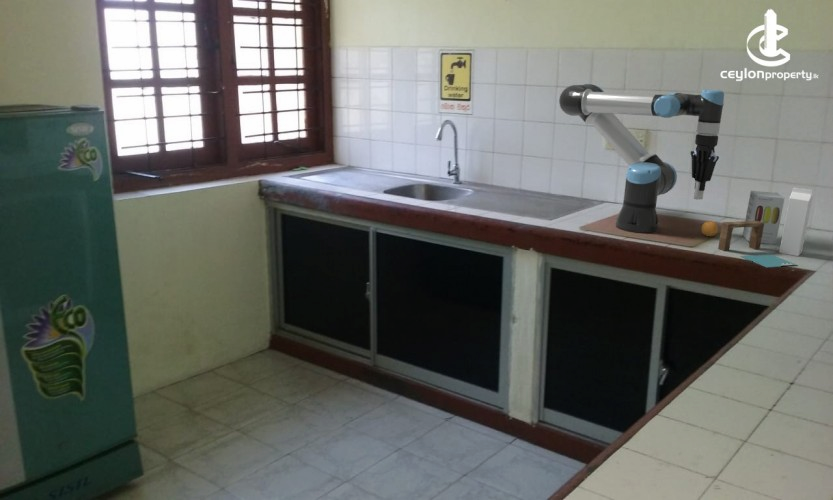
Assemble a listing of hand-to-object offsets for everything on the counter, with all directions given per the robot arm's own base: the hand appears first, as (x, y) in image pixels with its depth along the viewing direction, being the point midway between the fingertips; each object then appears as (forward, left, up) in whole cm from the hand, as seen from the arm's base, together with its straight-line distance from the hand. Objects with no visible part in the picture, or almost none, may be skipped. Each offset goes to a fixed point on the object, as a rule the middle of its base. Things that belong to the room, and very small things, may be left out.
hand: (698, 198), depth 273 cm
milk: (+15, -32, -12) cm, 37 cm away
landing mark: (0, -39, -12) cm, 41 cm away
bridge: (0, -25, -12) cm, 27 cm away
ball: (0, -9, -9) cm, 13 cm away
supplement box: (+16, -16, -12) cm, 25 cm away
